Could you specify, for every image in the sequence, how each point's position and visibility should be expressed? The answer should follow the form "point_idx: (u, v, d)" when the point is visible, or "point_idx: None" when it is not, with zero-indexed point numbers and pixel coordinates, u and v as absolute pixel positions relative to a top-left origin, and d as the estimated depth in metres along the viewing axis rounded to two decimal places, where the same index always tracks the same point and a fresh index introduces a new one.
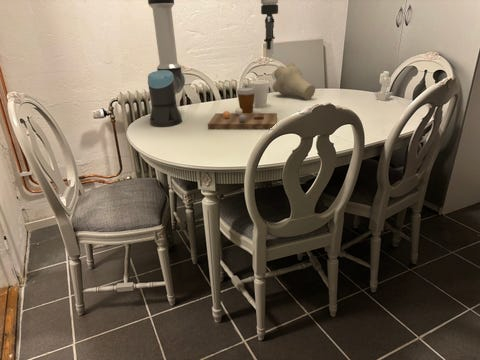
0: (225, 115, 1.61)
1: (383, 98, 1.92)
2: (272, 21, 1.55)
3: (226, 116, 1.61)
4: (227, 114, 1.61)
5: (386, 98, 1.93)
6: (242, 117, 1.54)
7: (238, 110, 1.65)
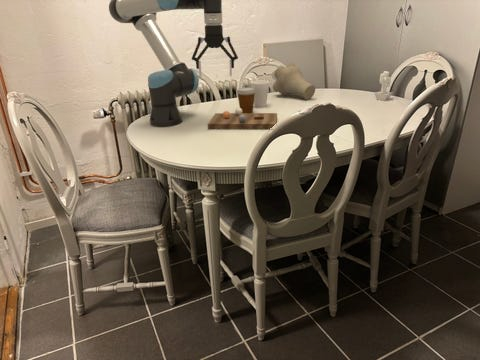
0: (225, 115, 1.61)
1: (383, 98, 1.92)
2: (208, 42, 1.51)
3: (226, 116, 1.61)
4: (227, 114, 1.61)
5: (386, 98, 1.93)
6: (242, 117, 1.54)
7: (238, 110, 1.65)
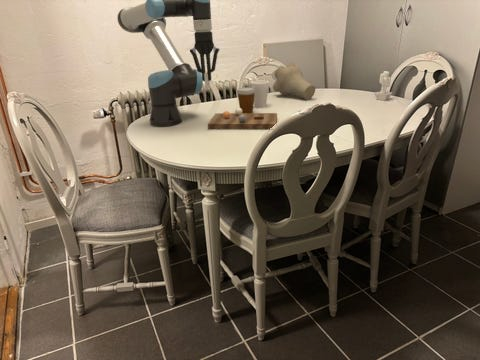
0: (225, 115, 1.61)
1: (383, 98, 1.92)
2: None
3: (226, 116, 1.61)
4: (227, 114, 1.61)
5: (386, 98, 1.93)
6: (242, 117, 1.54)
7: (238, 110, 1.65)
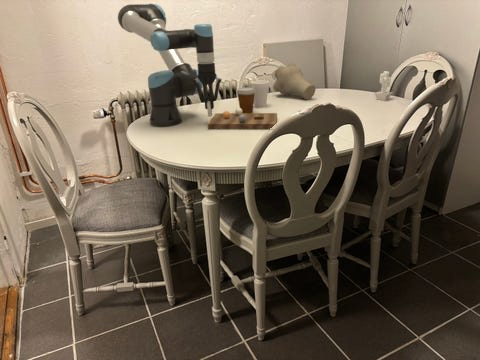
0: (225, 115, 1.61)
1: (383, 98, 1.92)
2: None
3: (226, 116, 1.61)
4: (227, 114, 1.61)
5: (386, 98, 1.93)
6: (242, 117, 1.54)
7: (238, 110, 1.65)
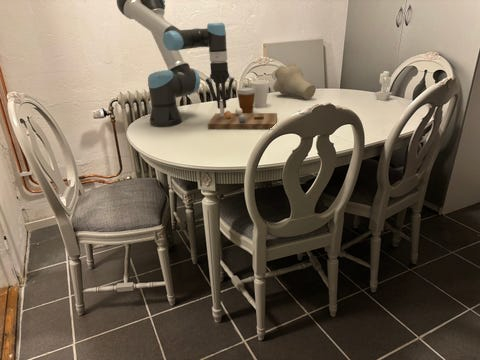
0: (227, 115, 1.61)
1: (383, 98, 1.92)
2: (215, 80, 1.55)
3: (227, 116, 1.61)
4: (229, 115, 1.61)
5: (386, 98, 1.93)
6: (242, 117, 1.54)
7: (238, 110, 1.65)
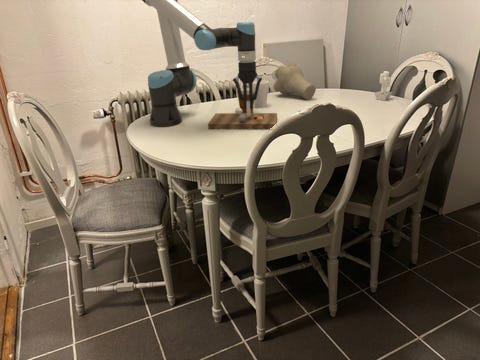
0: None
1: (383, 98, 1.92)
2: (243, 79, 1.53)
3: (260, 119, 1.60)
4: None
5: (386, 98, 1.93)
6: (242, 117, 1.54)
7: (238, 110, 1.65)
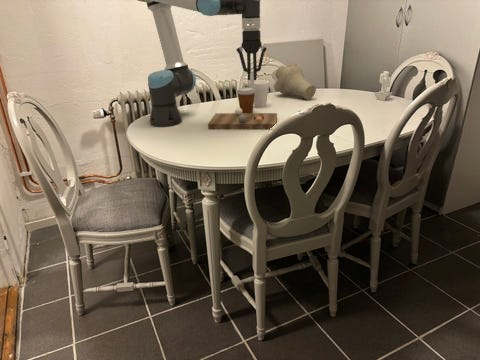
0: None
1: (383, 98, 1.92)
2: (246, 49, 1.48)
3: (258, 119, 1.60)
4: None
5: (386, 98, 1.93)
6: (242, 117, 1.54)
7: (238, 110, 1.65)
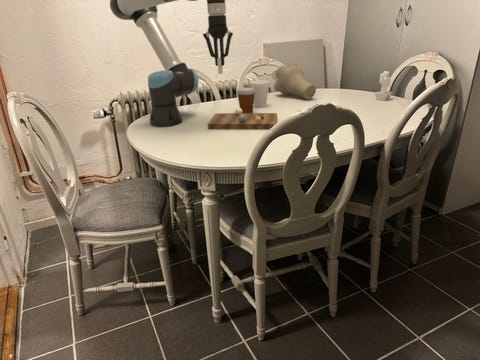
0: None
1: (383, 98, 1.92)
2: (213, 34, 1.49)
3: (257, 119, 1.60)
4: None
5: (386, 98, 1.93)
6: (242, 117, 1.54)
7: (238, 110, 1.65)
